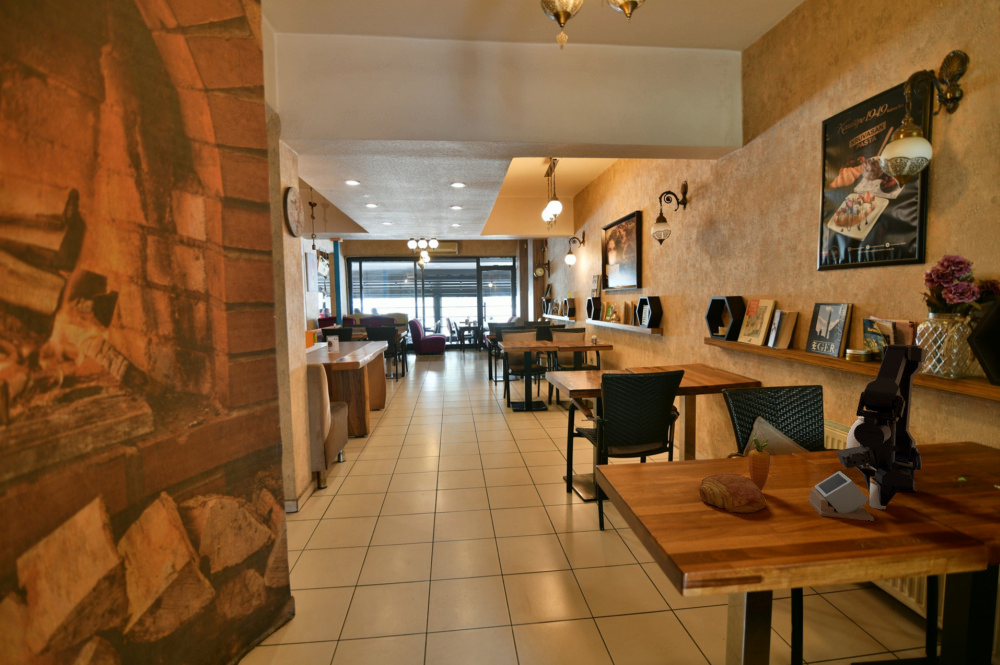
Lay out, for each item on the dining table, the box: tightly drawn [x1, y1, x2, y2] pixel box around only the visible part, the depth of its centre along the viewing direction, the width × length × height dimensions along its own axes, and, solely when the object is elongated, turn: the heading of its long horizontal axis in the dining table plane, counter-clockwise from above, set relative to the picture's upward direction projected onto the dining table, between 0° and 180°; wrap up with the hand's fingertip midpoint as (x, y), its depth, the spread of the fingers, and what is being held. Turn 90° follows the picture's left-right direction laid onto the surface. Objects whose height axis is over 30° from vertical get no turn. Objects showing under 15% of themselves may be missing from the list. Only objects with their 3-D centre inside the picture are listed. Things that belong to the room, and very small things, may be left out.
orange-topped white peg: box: [868, 477, 887, 510], centre depth 113 cm, size 3×3×7 cm
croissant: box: [698, 472, 767, 514], centre depth 117 cm, size 14×16×8 cm
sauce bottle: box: [846, 408, 865, 449], centre depth 143 cm, size 8×8×18 cm
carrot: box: [748, 436, 771, 491], centre depth 123 cm, size 5×5×15 cm
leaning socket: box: [807, 470, 875, 522], centre depth 111 cm, size 11×9×9 cm
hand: (877, 501), depth 113 cm, fingers open, 5 cm apart
